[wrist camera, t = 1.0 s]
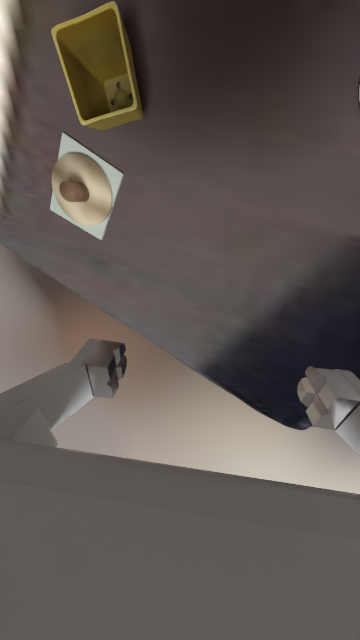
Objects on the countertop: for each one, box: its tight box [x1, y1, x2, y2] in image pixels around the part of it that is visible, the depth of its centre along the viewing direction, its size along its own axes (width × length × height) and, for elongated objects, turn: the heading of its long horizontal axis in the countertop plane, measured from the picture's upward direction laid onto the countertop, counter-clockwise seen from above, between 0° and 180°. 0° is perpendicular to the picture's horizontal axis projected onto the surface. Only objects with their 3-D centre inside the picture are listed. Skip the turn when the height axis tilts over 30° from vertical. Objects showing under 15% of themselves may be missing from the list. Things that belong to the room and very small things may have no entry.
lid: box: [52, 153, 113, 226], centre depth 37 cm, size 12×12×6 cm
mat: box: [50, 133, 124, 240], centre depth 39 cm, size 14×12×1 cm
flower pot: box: [51, 1, 143, 130], centre depth 28 cm, size 9×9×9 cm
